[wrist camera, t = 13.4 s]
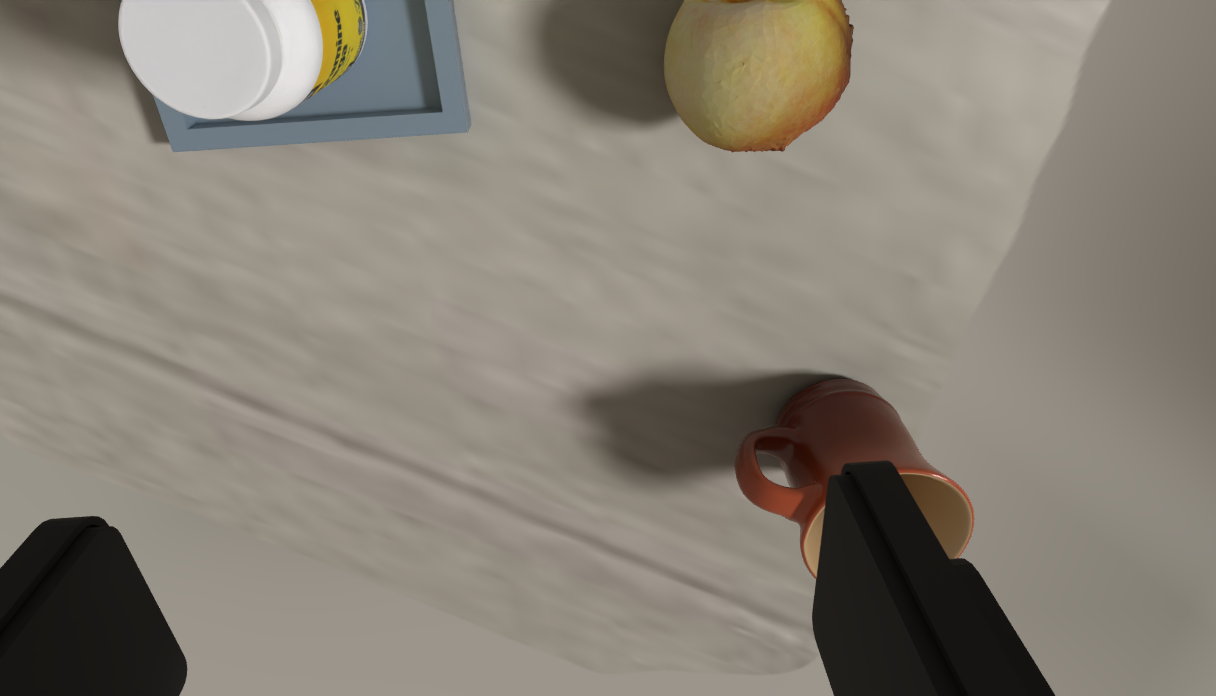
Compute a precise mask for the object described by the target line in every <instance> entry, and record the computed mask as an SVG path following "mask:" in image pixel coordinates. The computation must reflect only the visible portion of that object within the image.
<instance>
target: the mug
mask: <svg viewBox="0 0 1216 696" xmlns="http://www.w3.org/2000/svg"><path fill="white" fill-rule="evenodd" d="M756 454H767V455H770V456H772V457H775V458H777V459H778V460H779V463H780V465H781V468H782V469H783V471H784V473H785V476H786V478H787V481H788V483H789V486H790V487H784V486H780V485H778V484H775V483H773V482H771V481H770V480H768V479H767V478H766V477H765V476H764V475H763V474H762V472H761V470H760V468H759V466H758V463H757V458H756ZM884 460H888V461H890V462H892V463H893V465H894V466H895V467H896V469H897V471H898V472H899V474H900V476H901V477H902V479H903V481H904V483H905V484H906V486H907V488H908V489H909V491H910V493H911V494H912V496H913V498H914V500H915V501H916V503H917V505H918V506H919V508H920V510H921V511H922V513H923V515H924V517H925V518H926V520H927V522H928V523H929V525H930V527H931V529H932V530H933V532H934V534H935V535H936V537H937V539H938V540H939V542H940V544H941V546H942V547H943V549H944V551H945V552H946V554H947V556H948V557H949V559H955V558H958V557H959V556H960V555H961V554H962V552H963V551H964V549H965V548H966V546H967V544H968V542H969V539H970V537H971V535H972V531H973V527H974V511H973V507H972V504H971V502H970V499H969V498H968V496H967V494H966V493H965V492H964V490H962V488H961V487H960V486H959V485H958V484H957V483H956V482H954V481H953V480H951V479H950V478H949V477H947V476H946V475H944V474H943V473H941V472H940V471H938V470H937V469H936V468H934V467H933V466H932V465H930V464H929V463H928V462H927V461H926V460H925V459H924V457H923V456H922V454H921V453H920V452H919V449H918V447H917V446H916V444H915V442H914V440H913V438H912V437H911V435H910V433H909V432H908V430H907V429H906V427H905V425H904V424H903V422H902V421H901V419H900V416H899V415H898V413H897V411H896V410H895V409H894V408H893V406H892V405H891V404H889V403H888V402H887V401H886V400H884V399H883V398H882V397H881V396H880V395H879V394H878V393H877V392H876V391H875V390H874V389H873V388H871V387H870V386H868V385H866V384H864V383H861V382H858V381H854V380H849V379H833V380H827V381H822V382H819V383H816V384H814V385H811V386H809V387H807V388H805V389H803V390H802V391H800V392H799V393H797V394H796V395H794V396H793V397H792V398H791V399H790V400H789V401H788V403H787V404H786V405H785V406H784V408H783V409H782V411H781V413H780V415H779V417H778V420H777V423H776V427H772V428H767V429H761V430H757V431H754V432H751V433H750V434H748V435H747V436H746V437H745V438H744V440H743V441H742V443H741V445H740V447H739V449H738V451H737V454H736V457H735V473H736V478H737V481H738V484H739V487H740V489H741V491H742V492H743V494H744V495H745V496H746V497H747V498H748V500H750V501H751V502H752V503H753V504H755V505H756V506H758V507H760V508H761V509H763V510H766V511H768V512H771V513H775V514H778V515H781V516H783V517H785V518H787V519H788V520H791V521H794V522H797V523H798V524H799V525H800V548H801V553H802V557H803V560H804V563H805V565H806V567H807V568H808V570H809V572H810V573H811V574H812V575H813V577H814V578H815V579H816V578H817V569H818V561H819V553H820V544H821V536H822V527H823V519H824V510H825V502H826V494H827V485H828V480H829V477H830V476H832V475H841V471H842V467H843V466H844V464H846V463H856V462H870V461H884Z"/></svg>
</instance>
